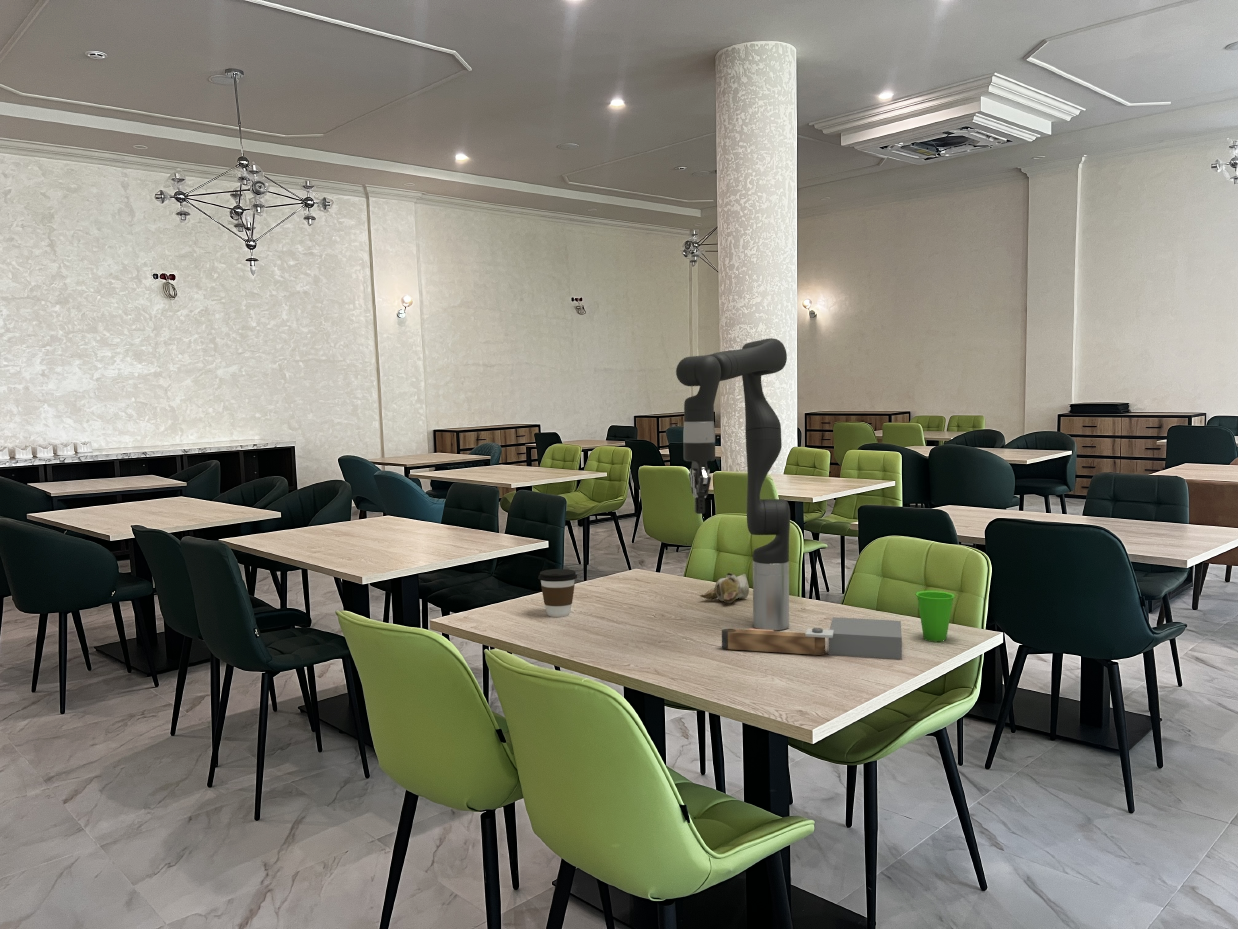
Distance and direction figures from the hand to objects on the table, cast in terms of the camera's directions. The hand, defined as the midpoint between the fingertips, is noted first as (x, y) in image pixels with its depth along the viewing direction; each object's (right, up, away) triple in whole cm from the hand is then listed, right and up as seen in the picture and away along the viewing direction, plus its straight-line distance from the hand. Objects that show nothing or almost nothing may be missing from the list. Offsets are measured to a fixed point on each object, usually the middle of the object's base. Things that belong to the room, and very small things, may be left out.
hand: (699, 513), depth 211 cm
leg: (+17, -32, -4) cm, 36 cm away
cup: (+58, -31, +5) cm, 66 cm away
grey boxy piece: (+29, -32, -1) cm, 43 cm away
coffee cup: (-36, -31, +36) cm, 60 cm away
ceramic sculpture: (+13, -29, +50) cm, 59 cm away
